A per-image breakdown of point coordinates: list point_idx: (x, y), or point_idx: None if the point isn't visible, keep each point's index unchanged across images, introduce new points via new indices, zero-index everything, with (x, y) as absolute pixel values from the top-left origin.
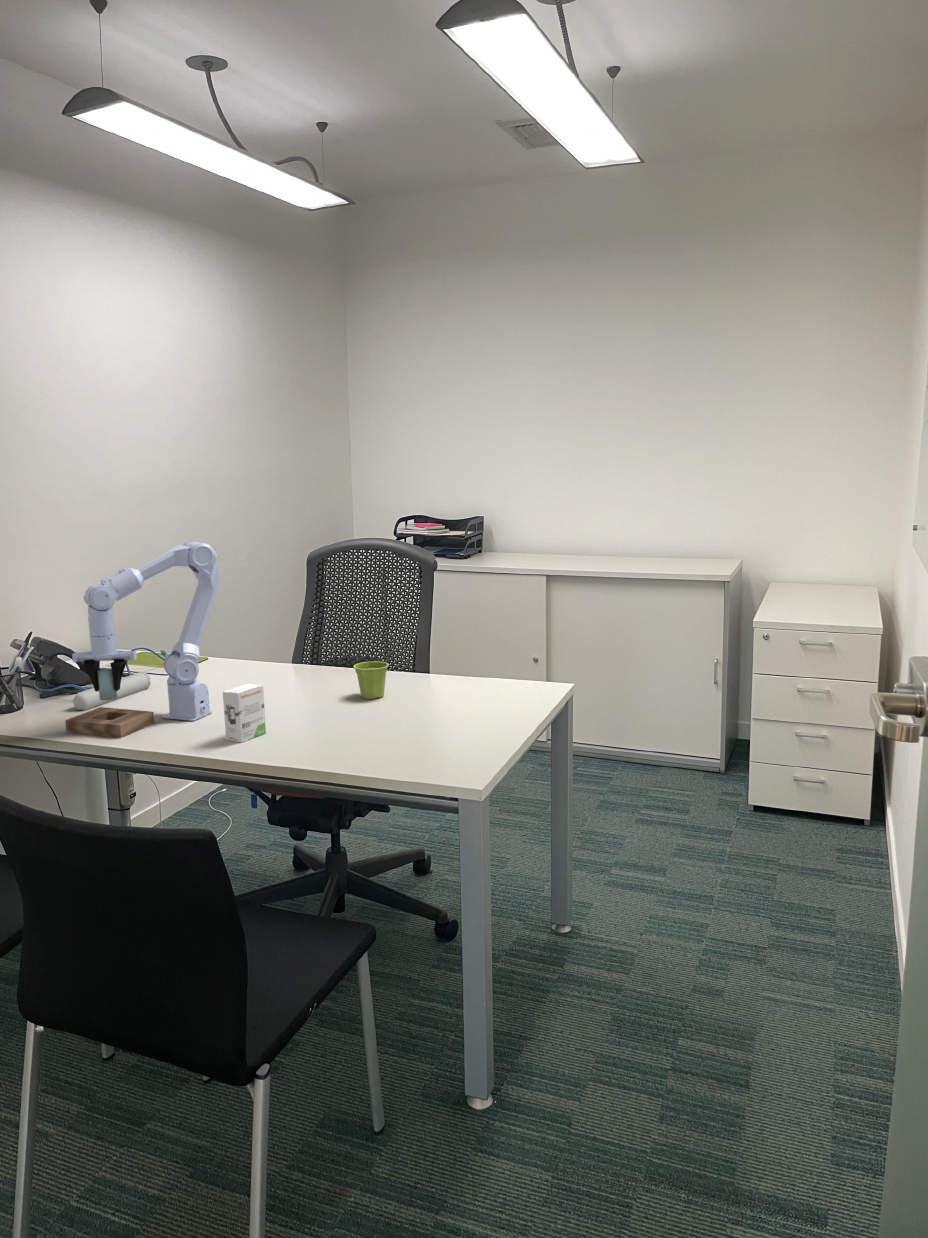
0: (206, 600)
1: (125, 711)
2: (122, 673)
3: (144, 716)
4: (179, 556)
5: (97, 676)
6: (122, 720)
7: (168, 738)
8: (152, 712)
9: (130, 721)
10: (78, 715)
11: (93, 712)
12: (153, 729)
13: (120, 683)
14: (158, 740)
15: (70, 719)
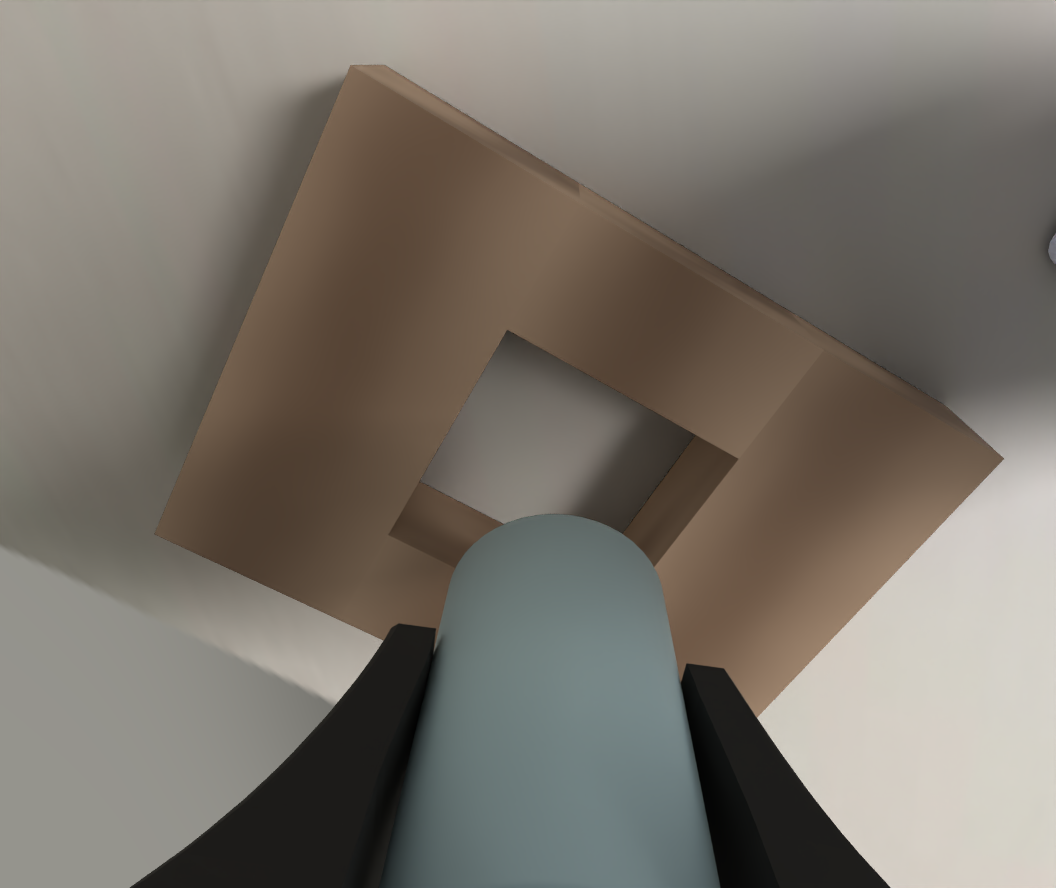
0: None
1: (700, 372)
2: (861, 877)
3: (896, 561)
4: None
5: (372, 864)
6: None
7: (1009, 784)
8: (990, 472)
9: (770, 700)
10: (217, 402)
11: (342, 320)
12: (922, 566)
13: (758, 729)
14: (937, 804)
15: (196, 526)
